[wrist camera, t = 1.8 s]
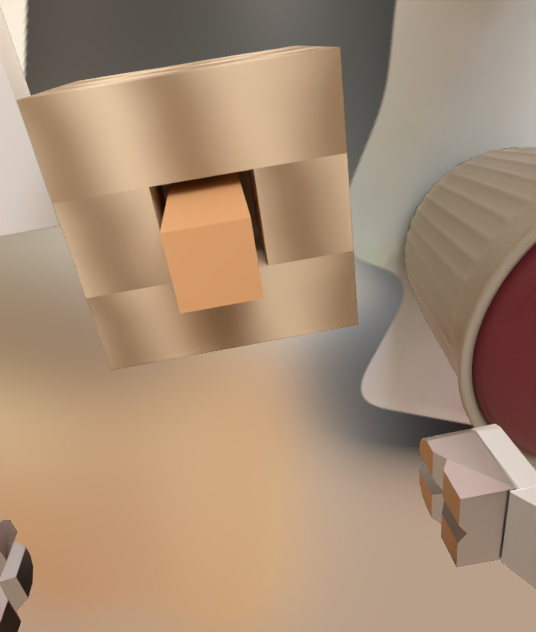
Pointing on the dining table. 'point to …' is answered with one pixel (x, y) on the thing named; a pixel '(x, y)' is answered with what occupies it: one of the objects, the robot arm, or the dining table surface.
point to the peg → (210, 243)
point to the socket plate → (18, 153)
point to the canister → (483, 285)
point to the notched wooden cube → (193, 163)
